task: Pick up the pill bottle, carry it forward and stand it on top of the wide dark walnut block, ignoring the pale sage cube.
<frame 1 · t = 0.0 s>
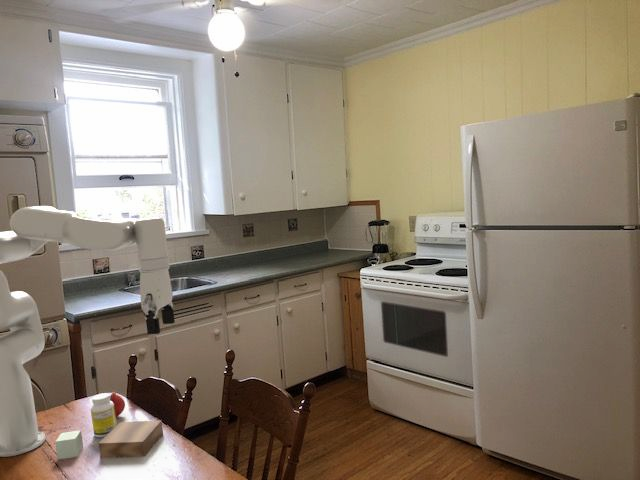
hand: (161, 328, 137), 31 cm above the table, fingers open, 9 cm apart
pill bottle: (105, 433, 148), on the table
sage cube: (70, 453, 138), on the table
onion: (116, 418, 158), on the table
walnut block: (132, 445, 139), on the table
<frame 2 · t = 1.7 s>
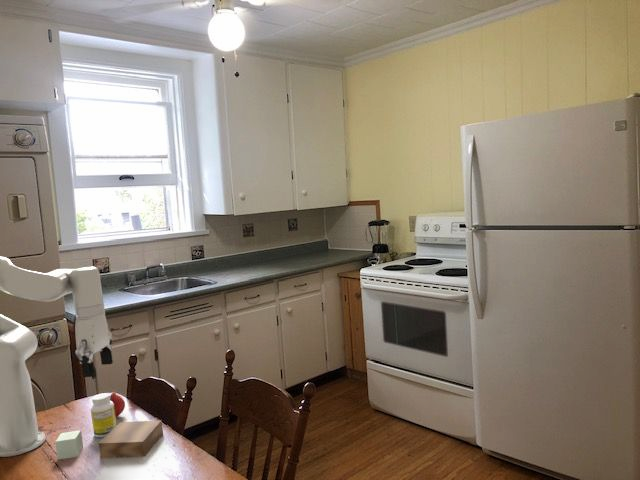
hand: (98, 370, 146), 19 cm above the table, fingers open, 9 cm apart
nothing on the table moved.
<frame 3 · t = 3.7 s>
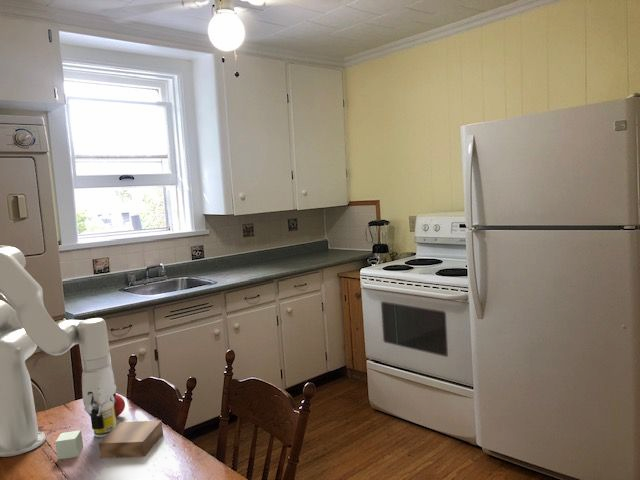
hand: (104, 422, 148), 3 cm above the table, fingers closed on pill bottle, 6 cm apart
pill bottle: (105, 433, 148), on the table, touching gripper
everything else where it was.
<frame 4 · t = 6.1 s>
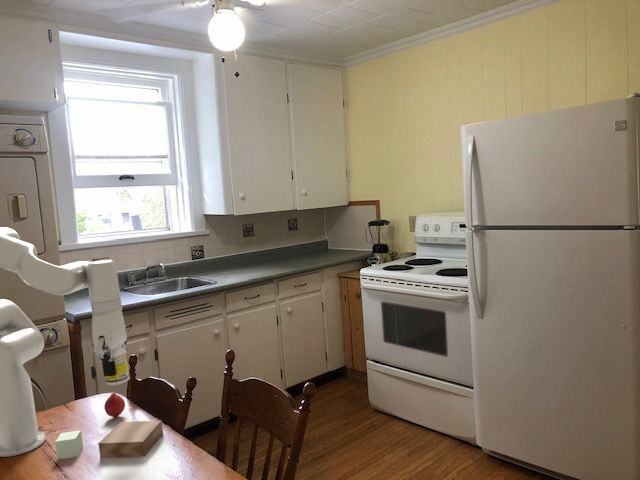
hand: (116, 370, 140), 20 cm above the table, fingers closed on pill bottle, 6 cm apart
pill bottle: (118, 382, 141), point 17 cm above the table, touching gripper
everything else where it was.
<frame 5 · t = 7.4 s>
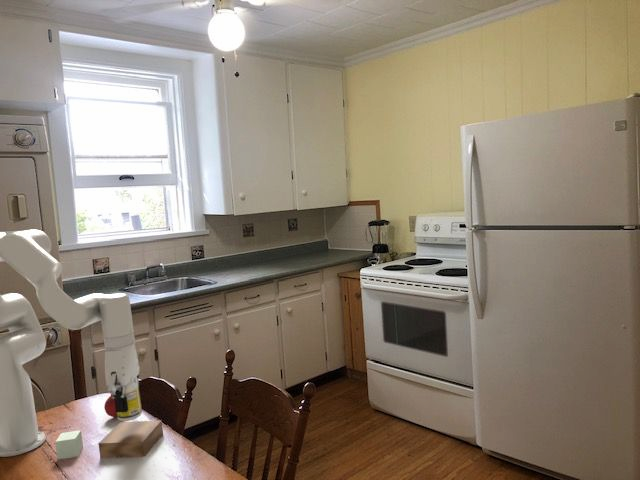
hand: (128, 405, 138), 11 cm above the table, fingers closed on pill bottle, 6 cm apart
pill bottle: (130, 417, 138), point 8 cm above the table, touching gripper
everything else where it was.
when the fingers open (7 cm above the table, at t = 8.7 s): pill bottle stays where it is, resting on walnut block.
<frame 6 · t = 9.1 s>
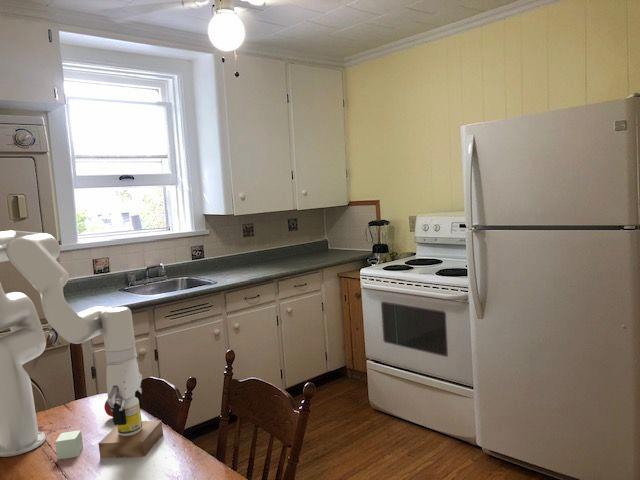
hand: (129, 416, 138), 8 cm above the table, fingers open, 9 cm apart
pill bottle: (130, 432, 139), point 4 cm above the table, touching walnut block
everything else where it was.
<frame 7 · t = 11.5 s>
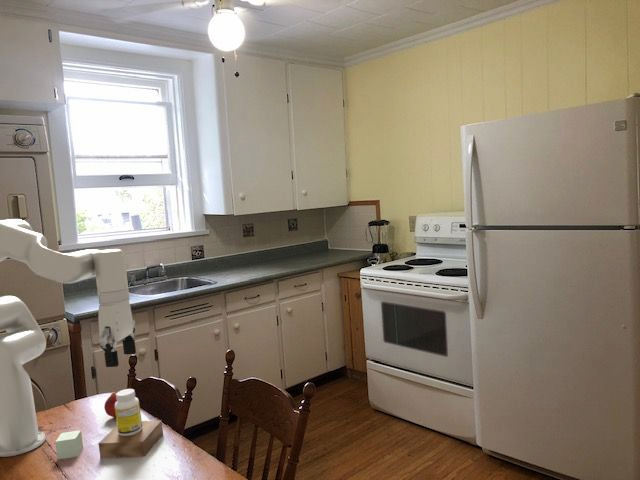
hand: (121, 359, 137), 24 cm above the table, fingers open, 9 cm apart
nothing on the table moved.
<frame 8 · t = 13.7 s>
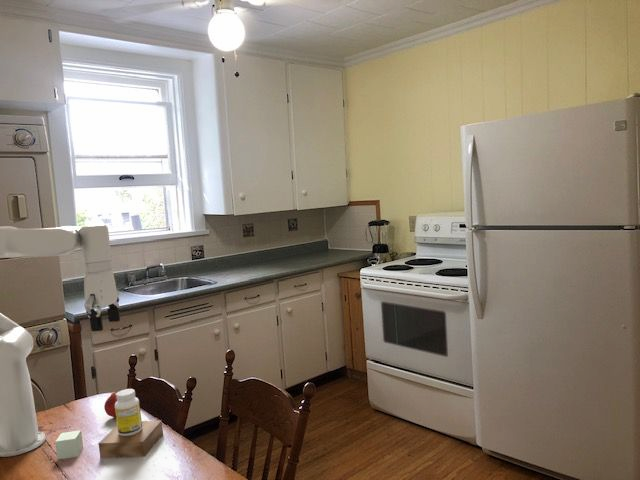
hand: (106, 325, 149), 30 cm above the table, fingers open, 9 cm apart
nothing on the table moved.
at the end: pill bottle inside the target area on the walnut block (0.2 cm from its centre), point 3.8 cm above the walnut block's base; pill bottle tilted 0°; the gripper is holding nothing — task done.
